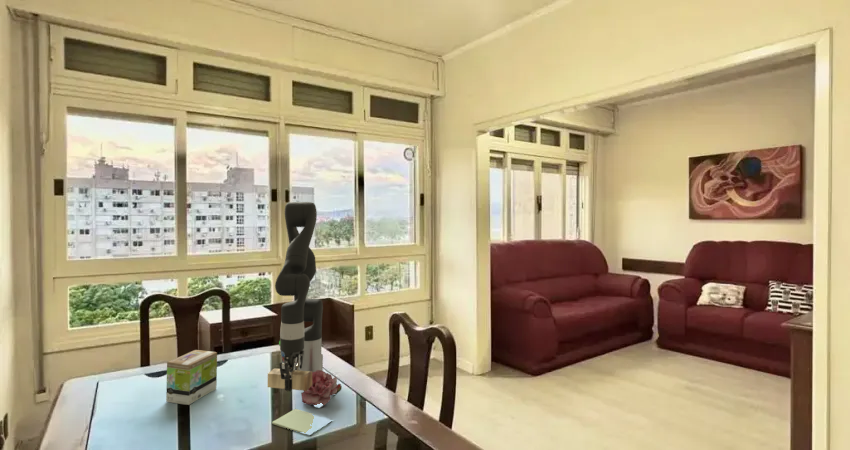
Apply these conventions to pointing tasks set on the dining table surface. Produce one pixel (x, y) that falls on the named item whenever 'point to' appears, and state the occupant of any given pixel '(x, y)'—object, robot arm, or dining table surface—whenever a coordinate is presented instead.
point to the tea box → (191, 376)
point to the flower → (321, 388)
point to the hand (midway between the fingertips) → (291, 386)
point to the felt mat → (295, 421)
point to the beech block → (299, 380)
